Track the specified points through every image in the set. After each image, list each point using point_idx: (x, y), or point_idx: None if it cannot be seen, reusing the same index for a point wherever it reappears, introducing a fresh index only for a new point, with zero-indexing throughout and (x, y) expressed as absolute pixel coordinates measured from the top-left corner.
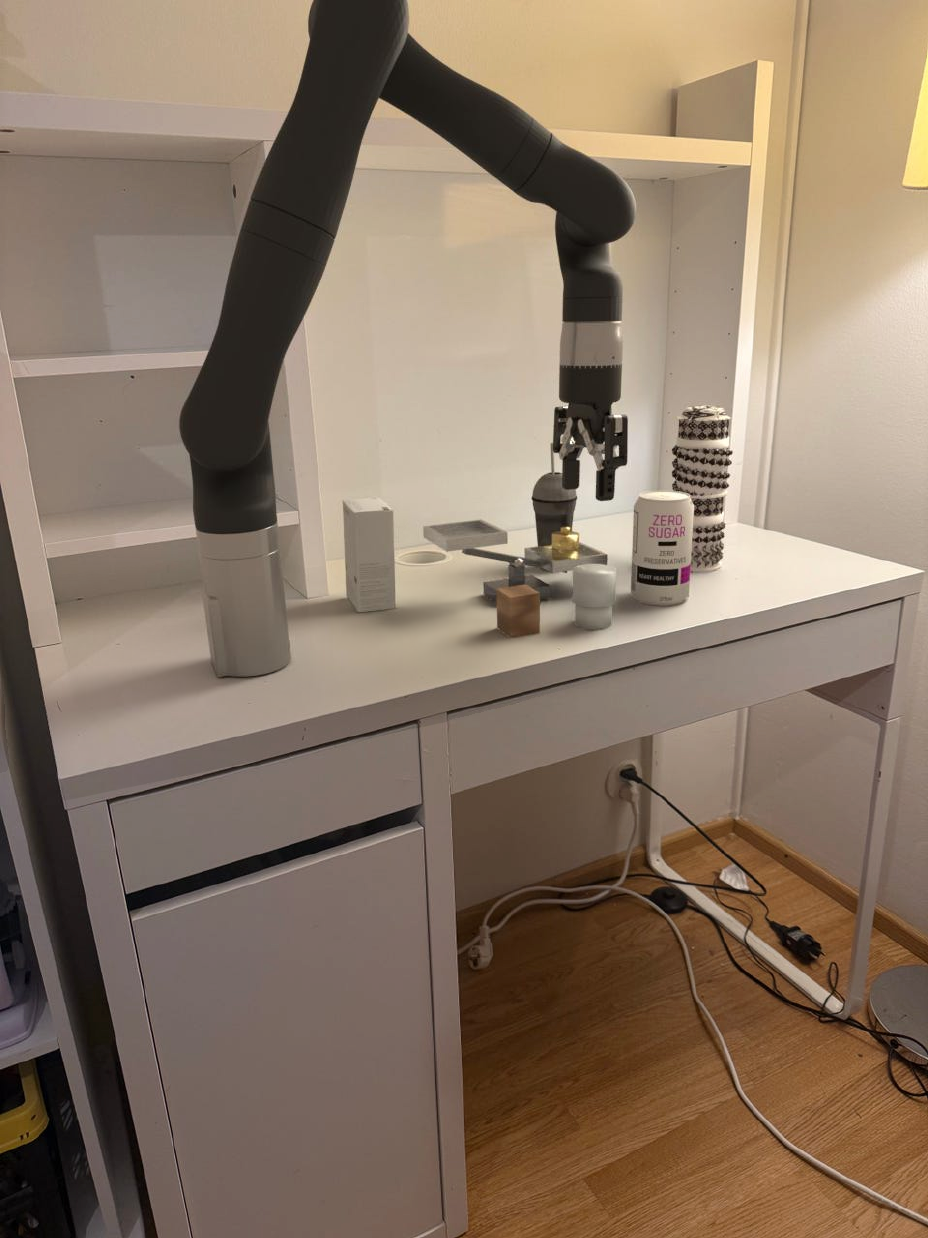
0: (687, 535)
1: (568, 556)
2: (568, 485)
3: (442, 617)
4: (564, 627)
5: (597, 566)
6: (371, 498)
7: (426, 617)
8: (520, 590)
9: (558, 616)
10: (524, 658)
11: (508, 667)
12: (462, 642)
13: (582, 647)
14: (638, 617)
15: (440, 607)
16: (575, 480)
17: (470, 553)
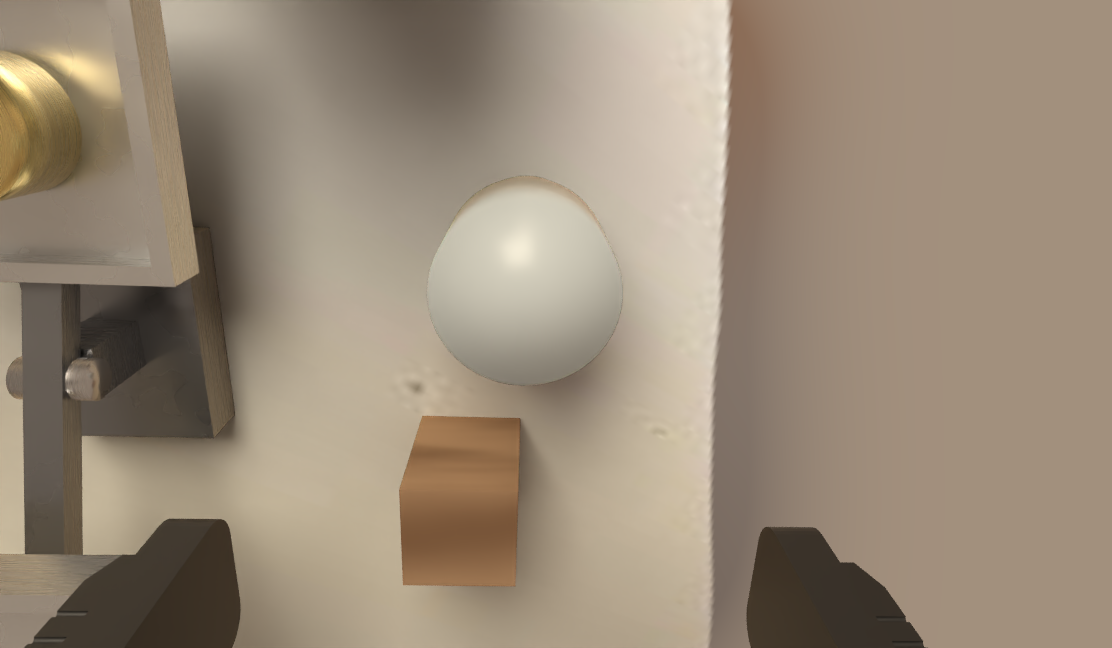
0: None
1: (64, 146)
2: (222, 621)
3: (269, 585)
4: None
5: (489, 259)
6: None
7: (252, 618)
8: (459, 531)
9: (407, 299)
10: (668, 530)
11: (697, 580)
12: (487, 607)
13: (686, 373)
14: (547, 54)
15: None
16: (192, 591)
17: None
